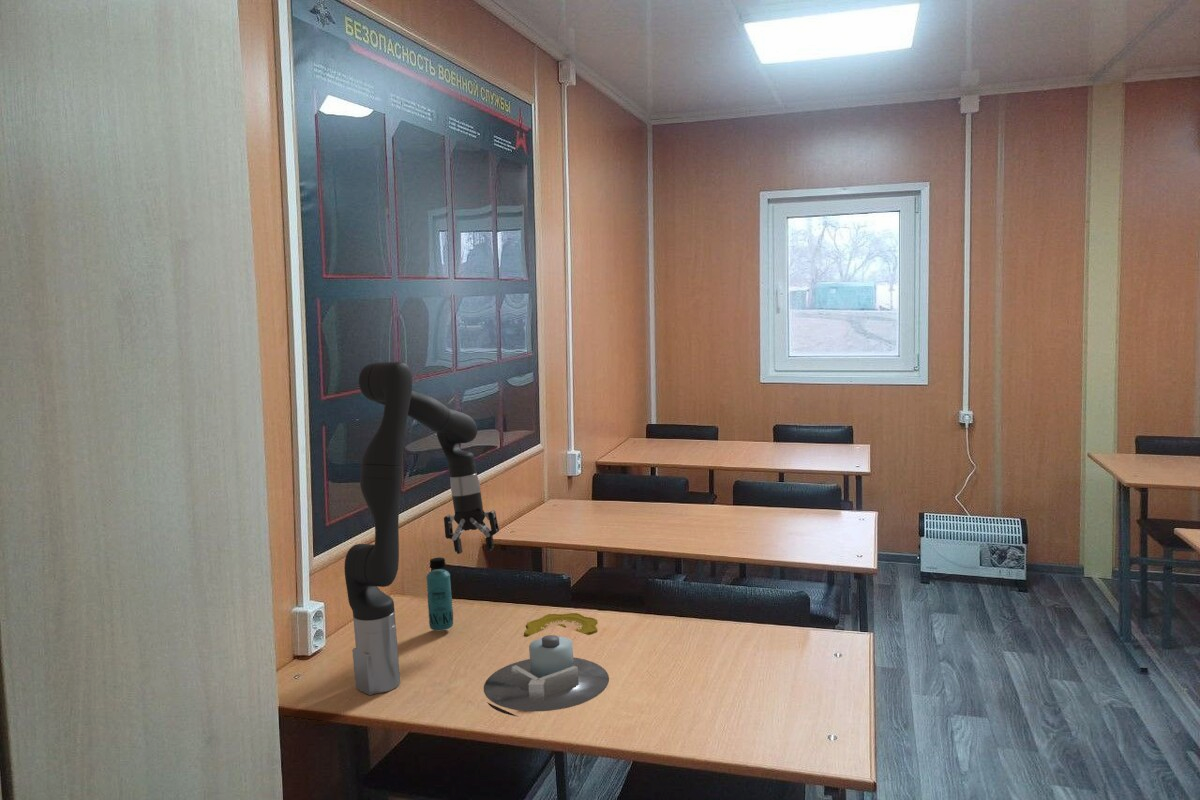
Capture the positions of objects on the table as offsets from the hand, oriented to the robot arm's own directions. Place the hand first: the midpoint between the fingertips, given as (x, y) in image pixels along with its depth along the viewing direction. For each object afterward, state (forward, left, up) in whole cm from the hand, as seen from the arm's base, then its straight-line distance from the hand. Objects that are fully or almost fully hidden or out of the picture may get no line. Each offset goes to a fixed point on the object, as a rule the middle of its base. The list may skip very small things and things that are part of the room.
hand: (475, 551), depth 235 cm
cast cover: (-8, -38, -20) cm, 43 cm away
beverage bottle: (-8, +6, -21) cm, 23 cm away
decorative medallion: (+13, -18, -22) cm, 31 cm away
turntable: (-14, -42, -21) cm, 49 cm away
